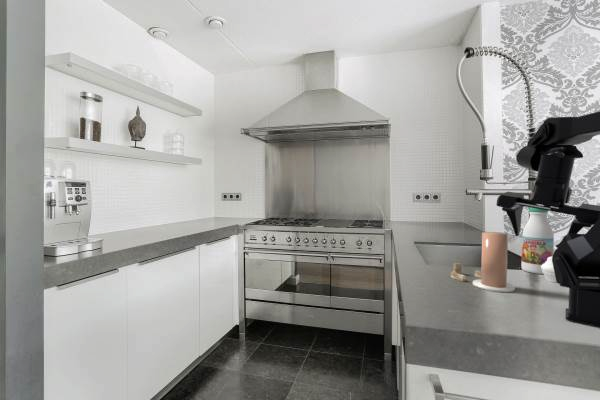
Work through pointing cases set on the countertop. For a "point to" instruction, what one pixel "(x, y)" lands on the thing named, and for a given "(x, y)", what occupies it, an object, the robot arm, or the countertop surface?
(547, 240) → the milk bottle
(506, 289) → the white disc
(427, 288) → the countertop surface
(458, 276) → the wooden blocks
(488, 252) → the salmon tan cylinder
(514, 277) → the countertop surface
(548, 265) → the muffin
